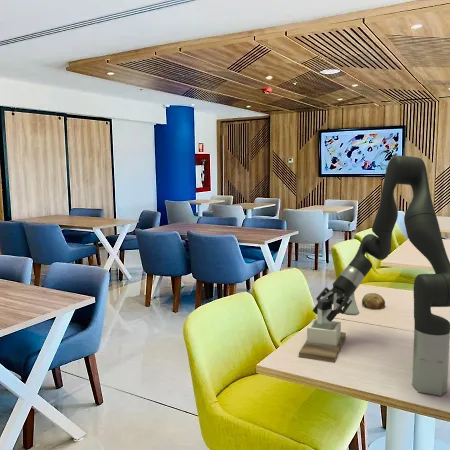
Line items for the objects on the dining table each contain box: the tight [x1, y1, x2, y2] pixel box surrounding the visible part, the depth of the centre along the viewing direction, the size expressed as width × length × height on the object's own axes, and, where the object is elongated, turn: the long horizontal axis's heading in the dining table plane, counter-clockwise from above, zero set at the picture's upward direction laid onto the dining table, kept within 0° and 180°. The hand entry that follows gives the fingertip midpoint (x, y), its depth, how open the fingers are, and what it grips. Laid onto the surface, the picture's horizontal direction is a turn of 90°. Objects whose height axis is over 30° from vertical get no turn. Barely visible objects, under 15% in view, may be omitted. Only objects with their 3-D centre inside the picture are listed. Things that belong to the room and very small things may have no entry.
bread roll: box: [361, 292, 386, 311], centre depth 204 cm, size 10×10×8 cm
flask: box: [344, 290, 360, 316], centre depth 195 cm, size 7×7×10 cm
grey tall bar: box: [316, 298, 333, 330], centre depth 160 cm, size 3×4×14 cm
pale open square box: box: [306, 318, 342, 348], centre depth 161 cm, size 10×10×6 cm
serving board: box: [298, 331, 347, 363], centre depth 160 cm, size 24×12×2 cm, turn 157°
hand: (321, 316), depth 159 cm, fingers open, 8 cm apart
